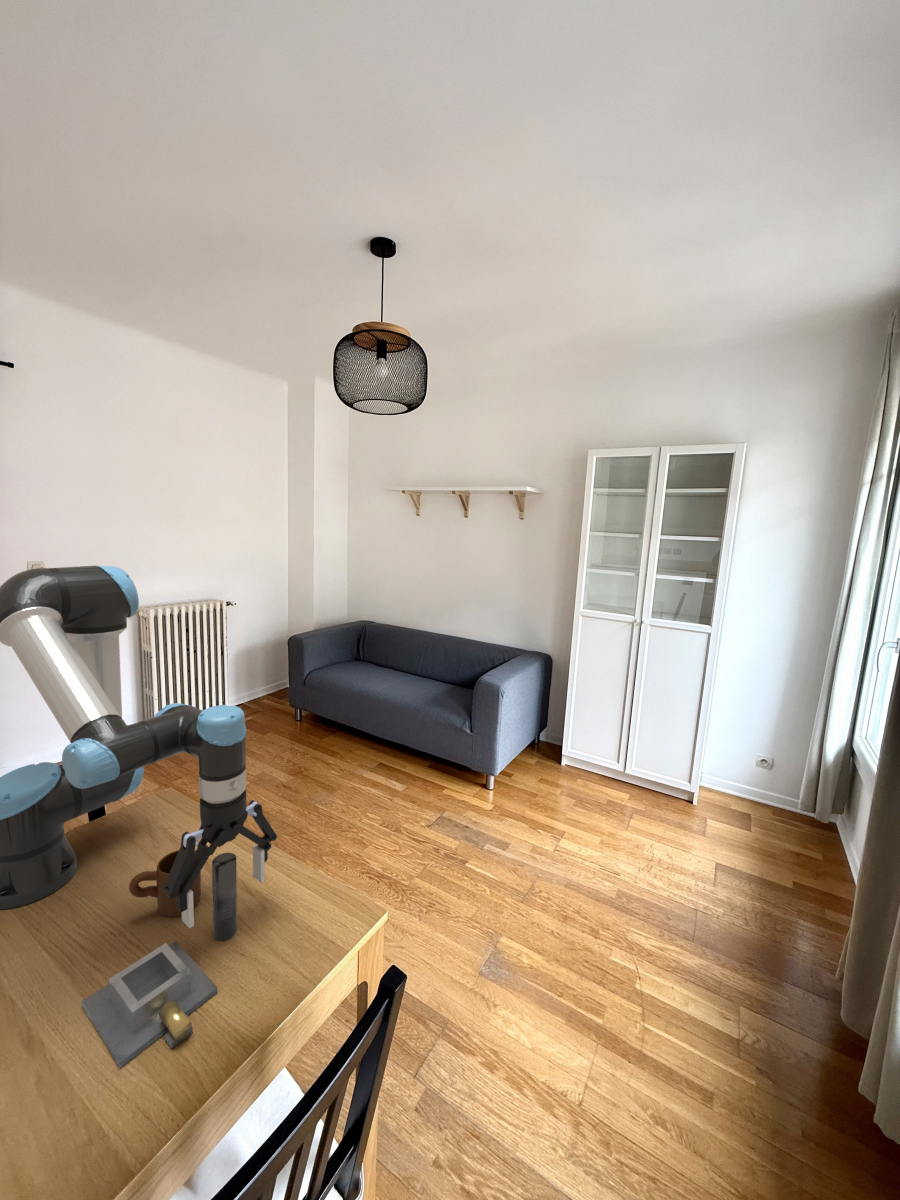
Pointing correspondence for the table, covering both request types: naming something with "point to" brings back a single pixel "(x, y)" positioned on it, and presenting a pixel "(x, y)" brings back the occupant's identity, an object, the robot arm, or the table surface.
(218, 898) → the dark cylinder
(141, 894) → the mug
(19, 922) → the table surface
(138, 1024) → the open box on baseplate
